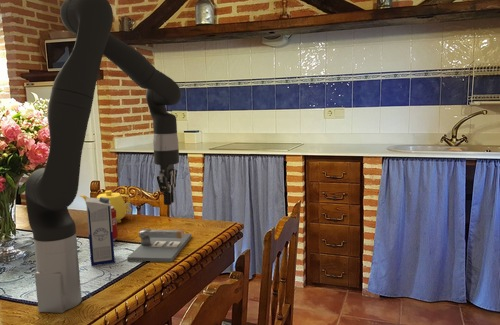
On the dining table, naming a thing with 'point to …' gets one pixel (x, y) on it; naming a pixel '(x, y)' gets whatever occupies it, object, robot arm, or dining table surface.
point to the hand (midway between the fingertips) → (169, 203)
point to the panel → (159, 249)
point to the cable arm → (161, 233)
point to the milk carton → (100, 231)
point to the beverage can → (114, 223)
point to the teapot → (115, 203)
